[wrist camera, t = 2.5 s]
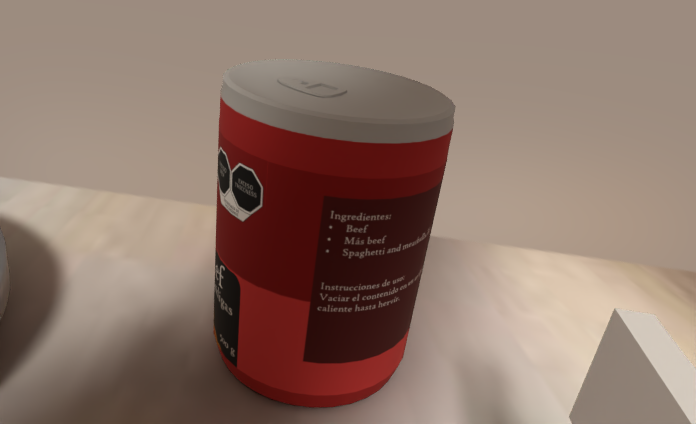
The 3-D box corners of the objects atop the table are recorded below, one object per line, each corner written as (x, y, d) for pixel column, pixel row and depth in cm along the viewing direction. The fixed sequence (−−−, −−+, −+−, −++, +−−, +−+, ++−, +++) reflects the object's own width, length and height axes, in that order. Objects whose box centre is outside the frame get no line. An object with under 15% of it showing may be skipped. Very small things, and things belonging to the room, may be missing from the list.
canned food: (253, 277, 28) (269, 48, 23) (413, 316, 27) (464, 84, 22) (174, 379, 21) (173, 85, 16) (384, 440, 20) (449, 140, 15)
